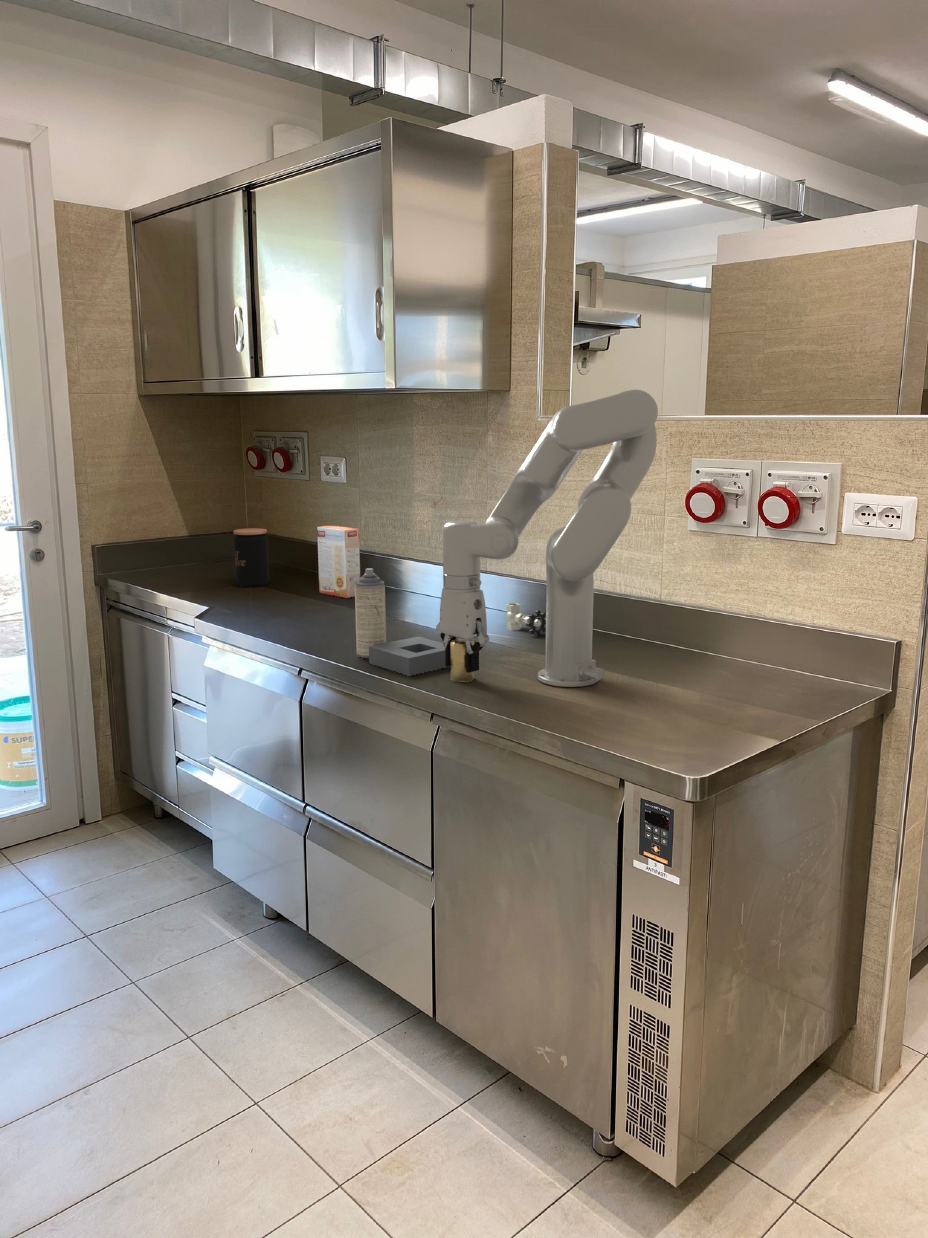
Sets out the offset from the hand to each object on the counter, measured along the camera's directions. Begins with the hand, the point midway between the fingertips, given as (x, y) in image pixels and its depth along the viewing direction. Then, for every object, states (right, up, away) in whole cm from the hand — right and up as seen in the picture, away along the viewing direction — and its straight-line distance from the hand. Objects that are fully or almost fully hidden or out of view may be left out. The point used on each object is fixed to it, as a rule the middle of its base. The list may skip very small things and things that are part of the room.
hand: (462, 667), depth 191 cm
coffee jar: (-69, +21, +111) cm, 132 cm away
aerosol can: (-21, +2, +20) cm, 29 cm away
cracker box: (-38, +17, +93) cm, 102 cm away
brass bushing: (0, -2, +1) cm, 3 cm away
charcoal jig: (-11, 0, +12) cm, 16 cm away
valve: (+15, +7, +43) cm, 46 cm away
